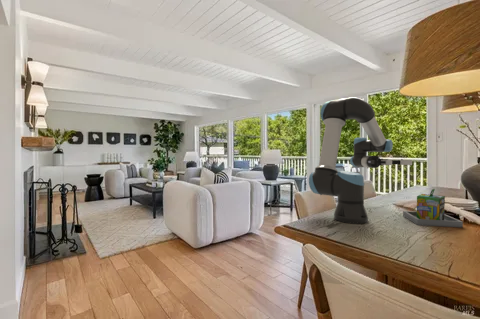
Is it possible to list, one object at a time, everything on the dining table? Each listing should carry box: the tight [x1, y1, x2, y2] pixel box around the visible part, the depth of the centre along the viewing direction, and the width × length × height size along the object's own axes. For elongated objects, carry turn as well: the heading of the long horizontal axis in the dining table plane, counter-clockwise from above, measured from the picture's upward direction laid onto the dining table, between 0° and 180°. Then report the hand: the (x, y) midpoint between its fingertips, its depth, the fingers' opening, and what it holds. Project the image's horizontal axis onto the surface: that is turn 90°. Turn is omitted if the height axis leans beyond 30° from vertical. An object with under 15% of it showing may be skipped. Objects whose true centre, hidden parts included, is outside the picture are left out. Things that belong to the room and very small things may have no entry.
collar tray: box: [402, 210, 464, 228], centre depth 118 cm, size 17×17×2 cm
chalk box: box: [416, 188, 446, 220], centre depth 117 cm, size 9×9×15 cm
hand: (401, 162), depth 133 cm, fingers open, 13 cm apart
